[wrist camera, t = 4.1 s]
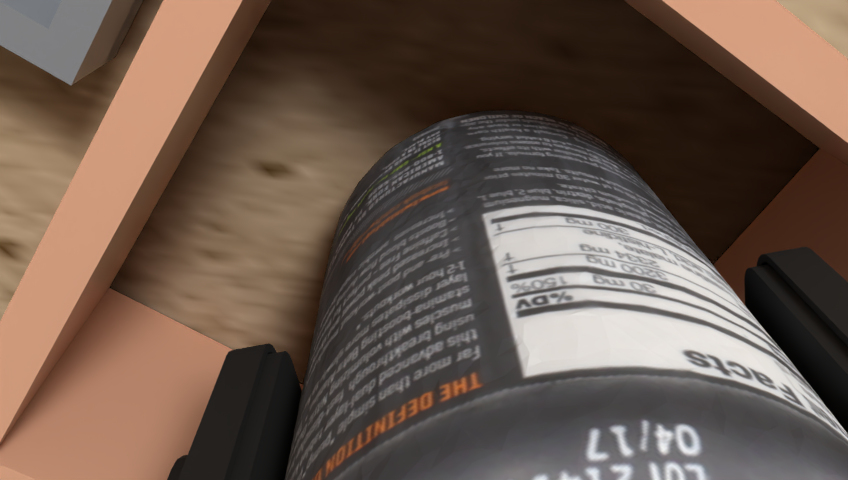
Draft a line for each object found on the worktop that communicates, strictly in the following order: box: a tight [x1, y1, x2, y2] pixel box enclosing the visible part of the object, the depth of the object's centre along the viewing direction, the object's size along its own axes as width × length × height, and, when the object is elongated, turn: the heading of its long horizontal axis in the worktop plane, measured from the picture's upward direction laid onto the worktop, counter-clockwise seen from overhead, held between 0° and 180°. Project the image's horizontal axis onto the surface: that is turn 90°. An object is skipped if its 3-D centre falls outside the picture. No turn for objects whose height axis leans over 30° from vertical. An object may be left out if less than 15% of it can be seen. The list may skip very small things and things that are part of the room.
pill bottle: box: [285, 110, 848, 480], centre depth 9 cm, size 6×6×11 cm
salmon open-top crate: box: [0, 0, 848, 480], centre depth 13 cm, size 11×11×5 cm
